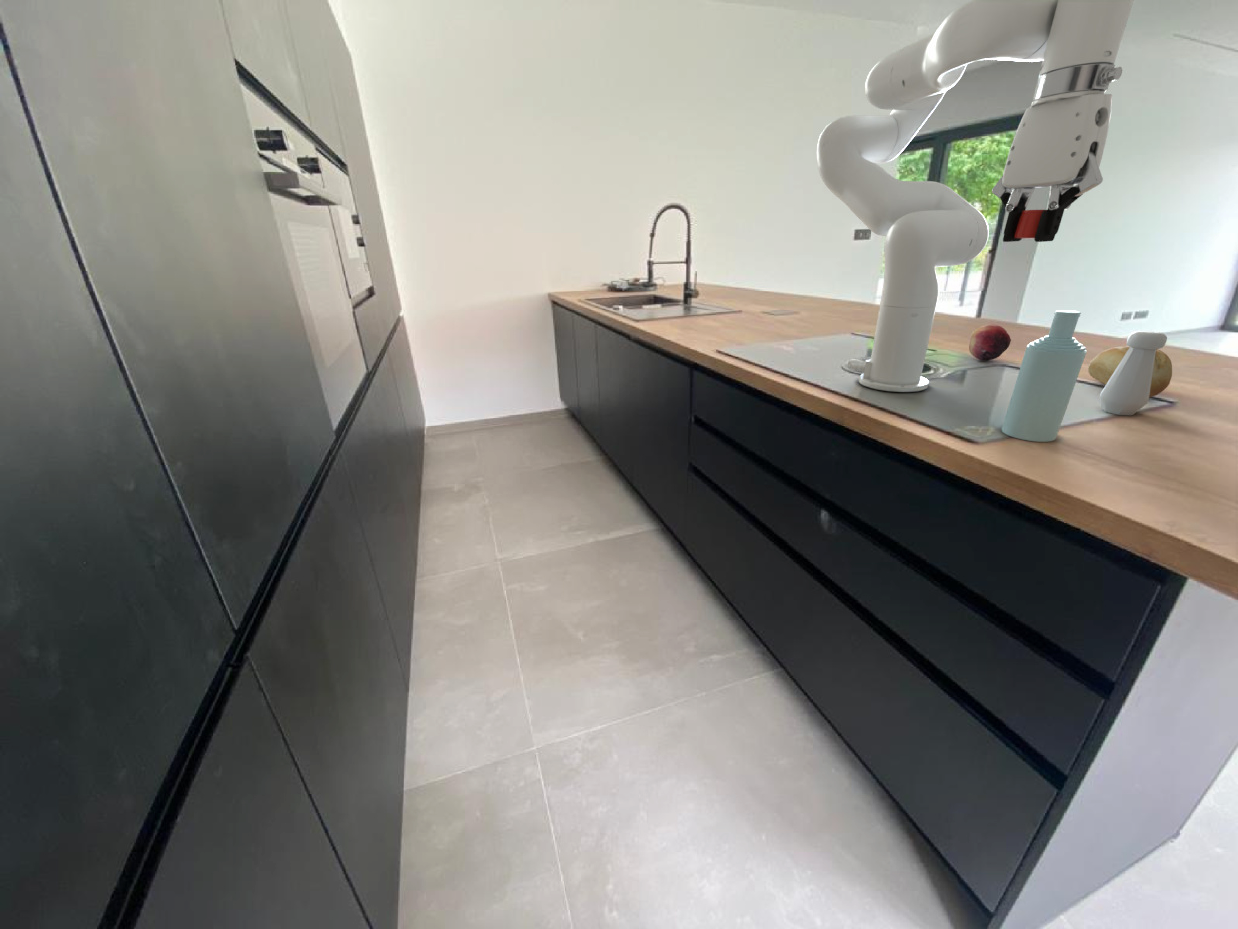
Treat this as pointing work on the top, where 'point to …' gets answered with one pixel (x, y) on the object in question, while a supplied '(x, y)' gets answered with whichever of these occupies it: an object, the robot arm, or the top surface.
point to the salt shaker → (1132, 375)
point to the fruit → (989, 342)
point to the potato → (1111, 358)
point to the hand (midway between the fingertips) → (1027, 239)
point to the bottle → (1045, 382)
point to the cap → (1028, 224)
